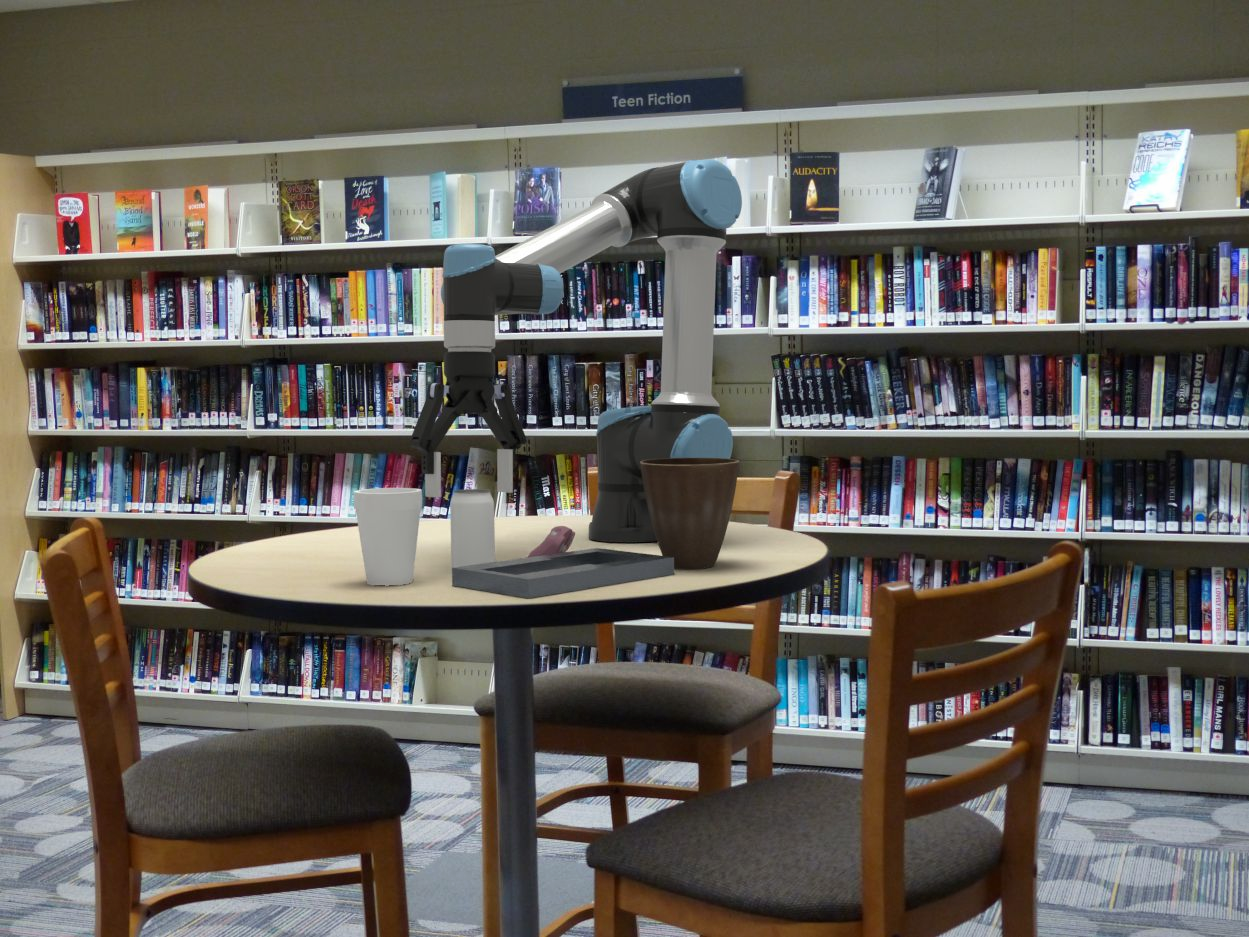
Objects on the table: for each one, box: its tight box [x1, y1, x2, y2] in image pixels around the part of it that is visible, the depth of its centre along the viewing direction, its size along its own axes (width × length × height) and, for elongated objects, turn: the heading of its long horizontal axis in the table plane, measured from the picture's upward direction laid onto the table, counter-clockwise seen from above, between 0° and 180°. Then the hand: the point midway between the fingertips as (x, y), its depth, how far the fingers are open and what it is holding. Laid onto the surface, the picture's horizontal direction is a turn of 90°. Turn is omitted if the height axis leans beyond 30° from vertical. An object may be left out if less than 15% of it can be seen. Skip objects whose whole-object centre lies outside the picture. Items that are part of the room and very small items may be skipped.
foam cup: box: [353, 487, 423, 587], centre depth 186 cm, size 10×9×13 cm
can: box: [449, 488, 496, 569], centre depth 196 cm, size 6×6×12 cm
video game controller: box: [527, 525, 576, 557], centre depth 205 cm, size 10×5×7 cm, turn 169°
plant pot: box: [640, 458, 740, 570], centre depth 199 cm, size 15×15×16 cm
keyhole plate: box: [451, 547, 675, 599], centre depth 187 cm, size 28×16×2 cm, turn 135°
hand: (469, 494), depth 196 cm, fingers open, 13 cm apart
